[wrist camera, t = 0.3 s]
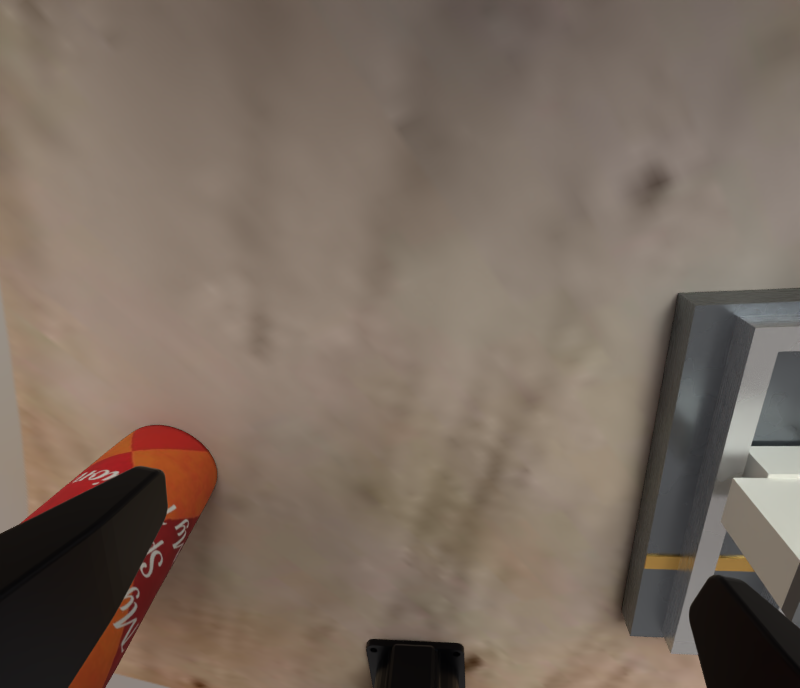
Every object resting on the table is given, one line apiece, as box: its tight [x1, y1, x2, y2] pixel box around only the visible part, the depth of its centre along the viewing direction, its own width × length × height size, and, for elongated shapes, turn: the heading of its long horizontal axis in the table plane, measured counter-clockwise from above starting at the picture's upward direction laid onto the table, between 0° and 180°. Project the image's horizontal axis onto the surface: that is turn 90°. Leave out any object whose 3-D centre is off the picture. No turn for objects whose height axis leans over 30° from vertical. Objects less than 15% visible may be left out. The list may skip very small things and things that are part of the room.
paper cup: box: [20, 425, 217, 688], centre depth 20 cm, size 8×8×14 cm
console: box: [622, 288, 800, 655], centre depth 22 cm, size 20×9×3 cm, turn 5°
